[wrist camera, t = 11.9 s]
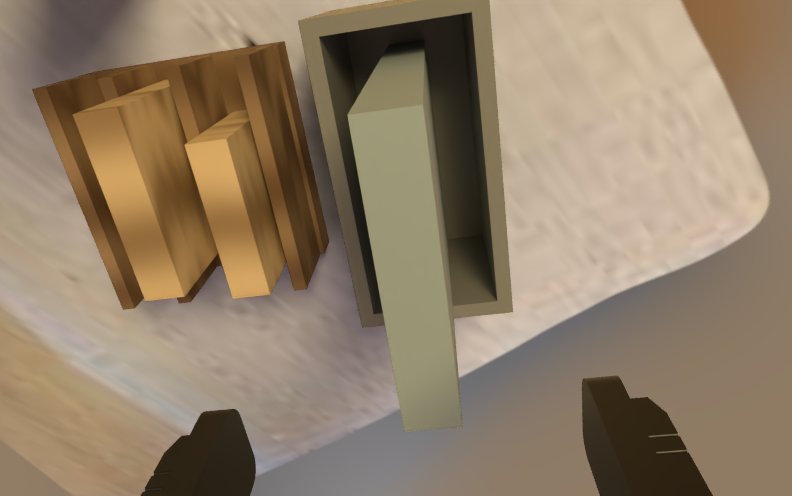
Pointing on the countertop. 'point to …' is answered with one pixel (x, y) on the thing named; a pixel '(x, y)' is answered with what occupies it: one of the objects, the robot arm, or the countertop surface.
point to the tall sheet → (408, 233)
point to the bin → (454, 127)
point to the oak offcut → (150, 188)
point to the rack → (199, 110)
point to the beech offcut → (238, 205)
